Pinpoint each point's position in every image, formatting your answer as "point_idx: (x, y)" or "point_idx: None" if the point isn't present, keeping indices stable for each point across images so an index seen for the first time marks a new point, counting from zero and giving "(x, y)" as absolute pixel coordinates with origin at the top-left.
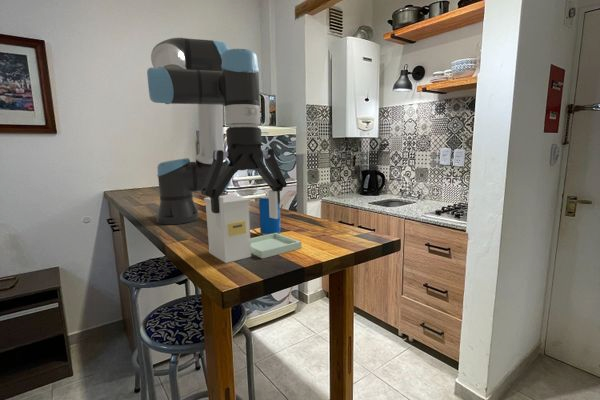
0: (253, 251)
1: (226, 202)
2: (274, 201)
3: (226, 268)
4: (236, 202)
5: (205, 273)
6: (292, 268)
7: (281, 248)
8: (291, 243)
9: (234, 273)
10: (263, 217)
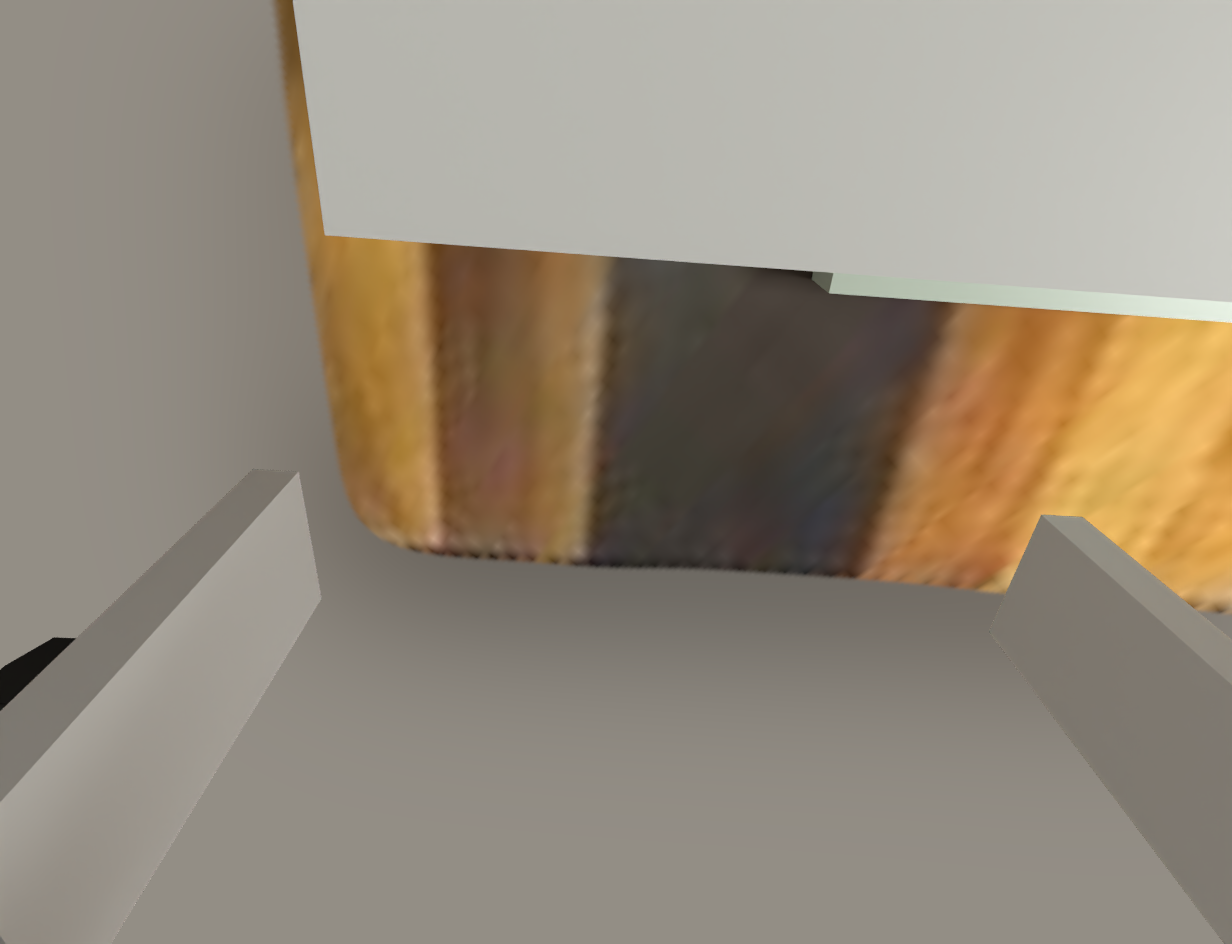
0: None
1: (498, 244)
2: (1153, 827)
3: (495, 257)
4: (807, 259)
5: None
6: (801, 551)
7: (1020, 305)
8: (1162, 297)
9: (499, 381)
10: None
